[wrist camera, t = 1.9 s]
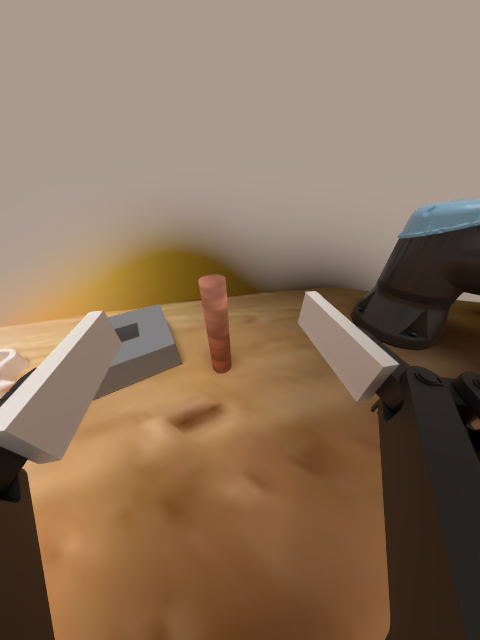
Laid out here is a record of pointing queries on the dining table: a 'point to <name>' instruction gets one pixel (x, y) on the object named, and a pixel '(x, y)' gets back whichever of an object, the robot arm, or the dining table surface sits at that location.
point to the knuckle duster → (10, 368)
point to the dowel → (216, 320)
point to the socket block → (139, 349)
